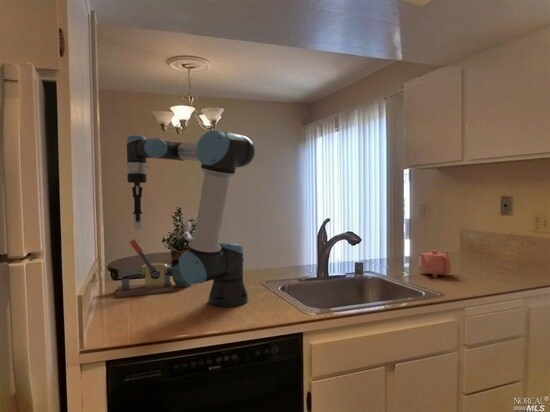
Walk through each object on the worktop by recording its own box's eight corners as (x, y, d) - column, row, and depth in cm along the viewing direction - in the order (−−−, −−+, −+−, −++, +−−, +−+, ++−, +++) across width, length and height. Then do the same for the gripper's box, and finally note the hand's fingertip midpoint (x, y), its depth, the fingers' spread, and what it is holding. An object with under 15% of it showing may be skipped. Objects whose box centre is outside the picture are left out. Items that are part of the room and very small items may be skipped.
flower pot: (189, 288, 162) (188, 268, 162) (170, 287, 164) (170, 268, 164) (197, 283, 171) (196, 264, 170) (179, 283, 172) (179, 264, 172)
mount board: (174, 292, 156) (174, 289, 156) (116, 298, 148) (116, 295, 148) (170, 283, 171) (170, 281, 171) (117, 288, 163) (117, 286, 163)
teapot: (418, 277, 181) (418, 252, 180) (418, 270, 196) (418, 247, 196) (451, 279, 175) (451, 253, 175) (449, 272, 190) (449, 248, 190)
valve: (171, 287, 160) (171, 265, 160) (117, 292, 152) (117, 269, 152) (170, 283, 168) (169, 261, 168) (118, 287, 160) (118, 265, 160)
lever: (153, 281, 154) (162, 275, 156) (127, 243, 150) (136, 238, 151) (153, 280, 156) (161, 274, 158) (127, 242, 152) (136, 237, 153)
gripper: (146, 172, 147) (147, 230, 148) (145, 174, 159) (146, 227, 160) (127, 172, 144) (128, 231, 145) (127, 173, 157) (128, 228, 157)
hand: (137, 229), depth 153 cm, fingers closed
